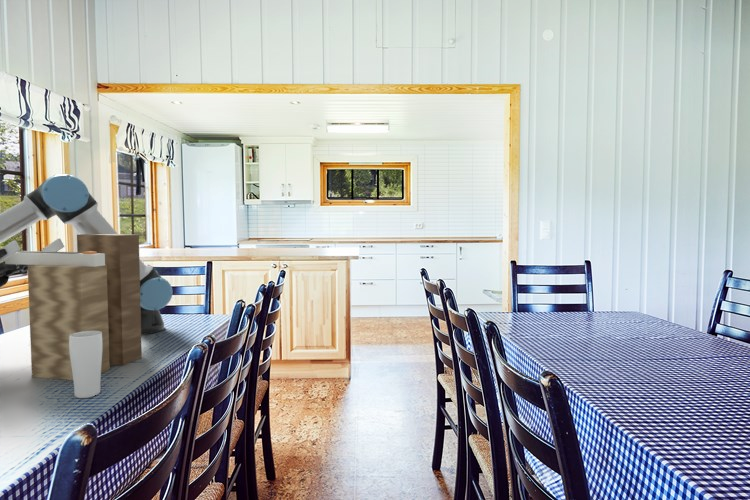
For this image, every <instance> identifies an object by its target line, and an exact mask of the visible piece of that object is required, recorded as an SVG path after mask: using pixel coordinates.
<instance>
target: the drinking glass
mask: <svg viewBox="0 0 750 500" xmlns="http://www.w3.org/2000/svg"><path fill="white" fill-rule="evenodd" d="M102 352H103V340H102V332H100V331H83V332H77V333H73V334H71V335H70V336H69V353H70V361H71V368H72V375H73V380H72V381H73V390H74V391H73V393H74V397H75V398H76V399H88V398H89V399H90V398H93V397H95V395H96V396H98V395H99V394H100V393H101V379H102V373H101V366H102Z"/></svg>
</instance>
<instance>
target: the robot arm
mask: <svg viewBox="0 0 750 500" xmlns="http://www.w3.org/2000/svg"><path fill="white" fill-rule="evenodd" d="M98 204H99V203H98V201H96V199H95V198H94V197H93V196H92V194H91V193H90V191H89V189H88V187H87V185H86V184H85V183H84V182H83V180H82V179H80V178H78V177H76V176H74V175H72V174H71V175H70V174H68V173H67V174H66V173H65V174H64V173H59V174H54V175H52V176H50V177H48V178H47V179H45V180H44V181H43V182H42V183H41V184H40V185H39V186H37V187H36V188H35V189H34V190H33V191H31V192H29V193H27V194H26V195H23V200H22V201H20V202H19V203H17V204H15V205H12V206H11V207H9V208H8V209H6V210H5V211H2V212H1V213H0V244H2V243H4V242H5V241H7V240H9V239H10V238H13V237H14V236H16V235H17V234H19V233H21V232H22V231H24V230H26V229H27V228H29V227H31V226H33V225H35V224H36V223H38V222H40V221H41V220H43V221H48V220H49V219H51V218H52V217H55V216H57V217H58V218H59V220H60V221H61V222H62V223H63V224H65V225H71V226H73V228H74V229H75V230H76V231H78V233H79V235H80V234H119V233H118V232H117V231H116V230H115V229H114V228H113V226H112V225H111V224H110V222H108V221H107V219H106V218H105V217H104V216H103V215H102V214H101V212H100V211H99V210H98V206H99V205H98ZM63 248H65V245H64V243H63V241H62V239H61V238H57V239H55V240H54V241H53V242H50V243H49V244H47V245H46V246H45V247H42V249H41V251H48V252H60V250H63ZM18 251H21V247H20V246H19V244H18V241H17V240H16V239H14V240H12V241H10V242H8V243H7V244H6V245H5V246H2V248H0V289H1V288H2V287H4V286H5V285H6V284H7V283H8V281H9V280H10V279H9V278H10V276H12V275H15V273H18V272H19V274H25V273H26V272H28V266H31V265H21V264H5V260H6V259H7V258H9V257H10V256H12V255H13V254H15V253H16V252H18ZM139 263H140V306H141V335H148V334H155V333H158V332H162V331H163V330H164V329H165V322H164V319H163V317H162V314H161V312H160V310H162V309H163V308H165V307H167V305H169V303H170V302H171V300H172V298H173V292H174V291H173V287H172V285H171V284H170V282H169V281H168V280H166V279H165V278H163V277H162V276H161V275H160V273H158V270H156V269H155V267H153V266H152V265H146V264H145V263H144V262H143V261H142V260H141V258H139Z"/></svg>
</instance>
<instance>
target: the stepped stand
mask: <svg viewBox="0 0 750 500" xmlns="http://www.w3.org/2000/svg"><path fill="white" fill-rule="evenodd" d="M76 247H77V248H76V249H77V251H76V252H80V253H83V252H86V251H97V253H100V254H105V265H104V266H96V267H91V266H56V265H31V266H28V270H27V282H28V283H27V285H28V287H27V288H28V289H27V290H28V305H29V306H28V307H29V308H28V309H29V310H28V311H29V335H30V336H29V337H30V359H31V360H30V362H31V377H32V378H41V379H42V378H44V379H54V380H66V379H67V380H68V381H69V380H70V381H73V375H72V368H71V361H70V353H69V336H70V335H71V334H73V333H77V332H83V331H100V332H102V340H103V352H102V366H101V374H103V373H105V372H108V371H110V367H111V366H122V367H123V366H126V365H128V364H130V363H133V362H135V361H137V360H140V359H142V358H143V356H142V353H143V351H142V334H141V306H140V263H139V259H140V235H139V234H134V233H133V234H128V233H127V234H126V233H124V234H123V233H121V234H120V233H118V234H80V233H79V234H76Z"/></svg>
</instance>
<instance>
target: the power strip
mask: <svg viewBox="0 0 750 500" xmlns="http://www.w3.org/2000/svg"><path fill="white" fill-rule="evenodd" d="M4 262H5V264H16V265H18V264H21V265H56V266H91V267H96V266H104V265H105V254H100V253H97V251H86V252H83V253H80V252H77V251H57V252H48V251H42V250H41V251H39V250H19V251H18V252H16V253H15V254H13V255H12V256H10V257H9V258H7V259H6V260H4Z"/></svg>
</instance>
